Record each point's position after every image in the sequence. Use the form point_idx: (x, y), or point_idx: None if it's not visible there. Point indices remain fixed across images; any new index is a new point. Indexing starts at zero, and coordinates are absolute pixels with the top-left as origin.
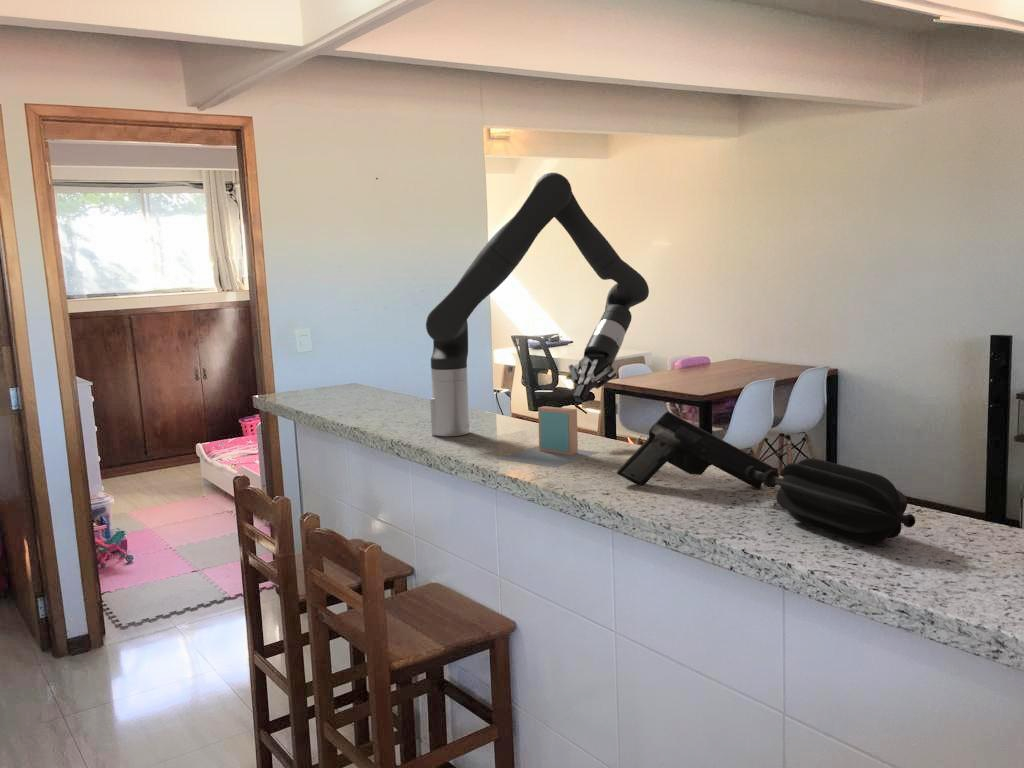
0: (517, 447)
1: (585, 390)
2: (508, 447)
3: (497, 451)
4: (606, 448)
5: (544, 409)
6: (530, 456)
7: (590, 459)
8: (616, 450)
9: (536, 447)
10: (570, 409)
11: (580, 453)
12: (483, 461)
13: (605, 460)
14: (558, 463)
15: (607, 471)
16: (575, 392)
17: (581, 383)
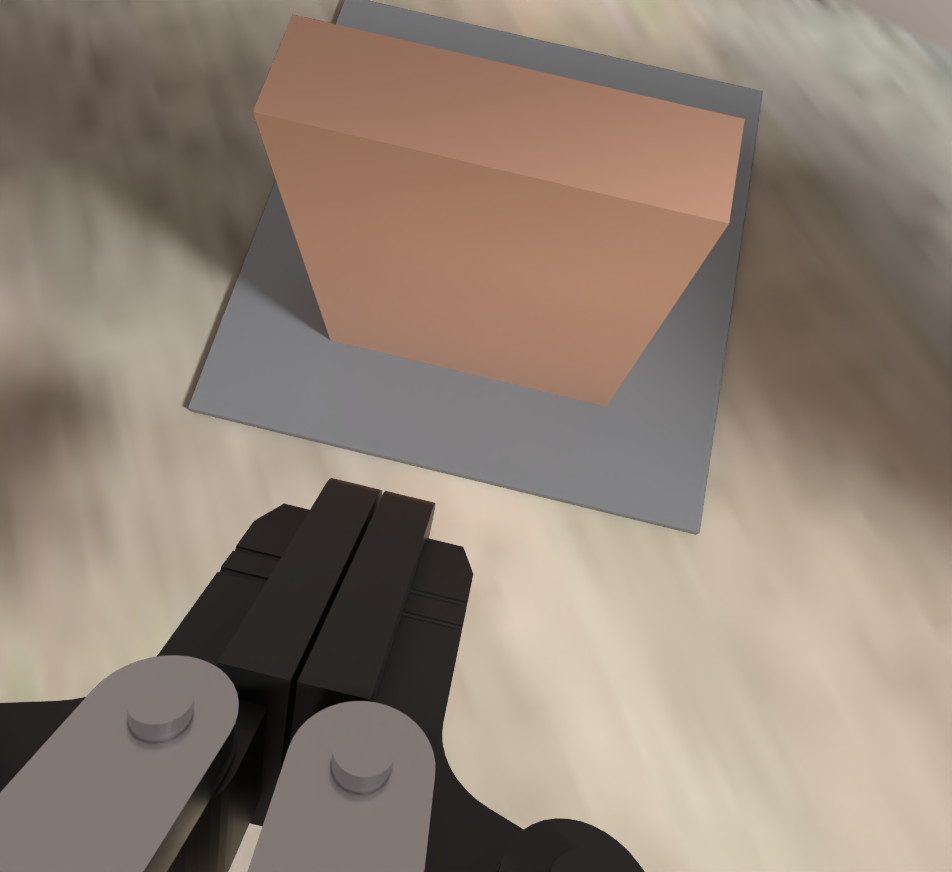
0: (840, 445)
1: (219, 588)
2: (899, 428)
3: (891, 296)
4: (174, 599)
5: (651, 109)
6: None
7: (207, 239)
8: (79, 550)
9: (690, 433)
10: (323, 82)
11: (308, 335)
12: (805, 57)
13: (103, 237)
14: None
15: (41, 12)
16: (445, 591)
17: (321, 717)
